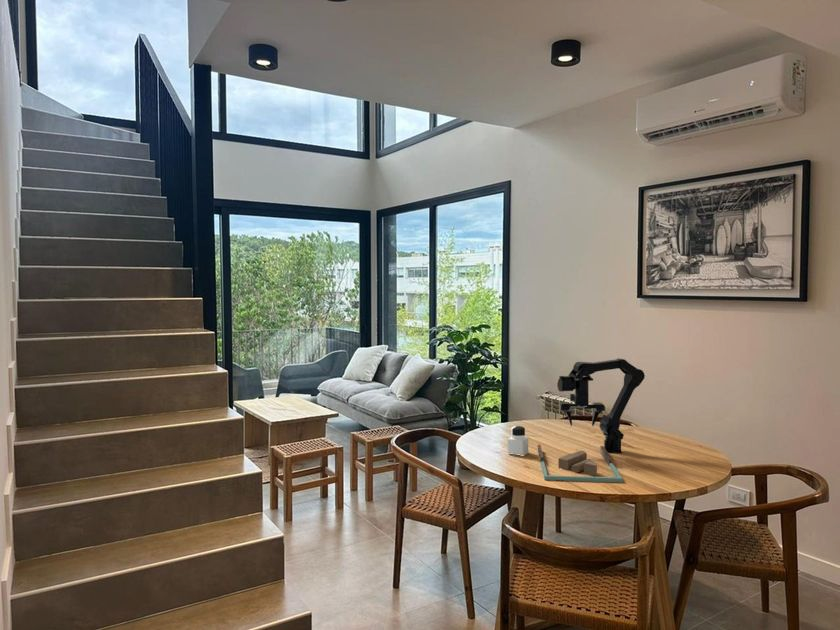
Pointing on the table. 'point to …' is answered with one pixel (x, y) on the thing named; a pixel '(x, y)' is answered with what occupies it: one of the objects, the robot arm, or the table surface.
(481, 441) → the table surface
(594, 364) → the robot arm
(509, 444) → the medicine bottle
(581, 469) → the wooden block set
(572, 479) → the frame
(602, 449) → the pair of brown bars
